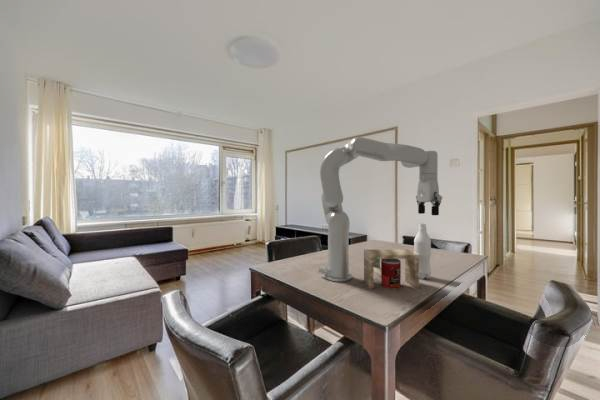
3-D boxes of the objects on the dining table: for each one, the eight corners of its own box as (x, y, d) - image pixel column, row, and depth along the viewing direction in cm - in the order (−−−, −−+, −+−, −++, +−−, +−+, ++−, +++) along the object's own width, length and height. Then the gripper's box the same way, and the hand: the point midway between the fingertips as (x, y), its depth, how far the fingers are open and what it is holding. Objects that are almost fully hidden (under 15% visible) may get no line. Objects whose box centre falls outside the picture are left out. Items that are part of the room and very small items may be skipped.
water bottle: (433, 280, 111) (433, 225, 110) (416, 279, 112) (416, 224, 111) (428, 275, 118) (428, 223, 117) (412, 274, 119) (412, 222, 118)
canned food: (391, 290, 100) (391, 263, 100) (377, 283, 107) (377, 258, 107) (404, 286, 104) (404, 260, 103) (389, 280, 111) (389, 256, 110)
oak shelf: (369, 288, 102) (369, 255, 101) (364, 280, 112) (363, 249, 111) (418, 288, 101) (418, 255, 101) (408, 280, 111) (408, 249, 111)
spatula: (381, 280, 111) (381, 265, 111) (370, 267, 131) (370, 254, 131) (390, 280, 111) (390, 265, 111) (377, 267, 131) (377, 254, 131)
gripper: (410, 178, 123) (410, 213, 124) (433, 176, 106) (433, 216, 107) (423, 178, 124) (423, 212, 125) (449, 176, 107) (448, 215, 108)
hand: (428, 214), depth 116 cm, fingers open, 9 cm apart
